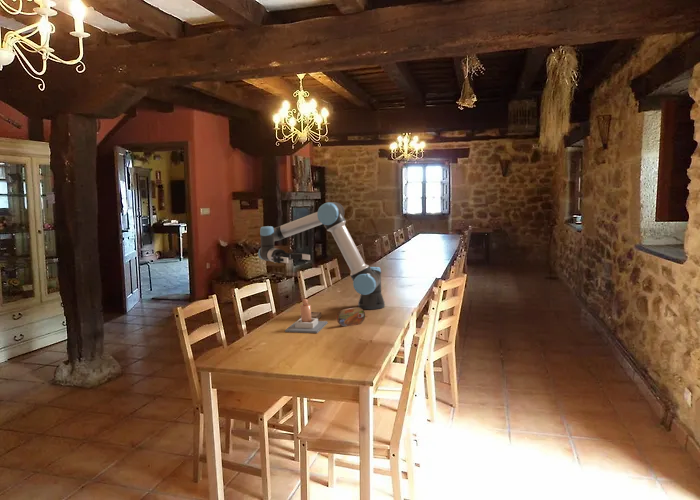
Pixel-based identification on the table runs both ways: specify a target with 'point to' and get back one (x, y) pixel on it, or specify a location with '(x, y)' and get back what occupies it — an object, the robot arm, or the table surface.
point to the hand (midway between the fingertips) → (298, 259)
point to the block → (315, 315)
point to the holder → (306, 326)
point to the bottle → (306, 312)
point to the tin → (351, 316)
